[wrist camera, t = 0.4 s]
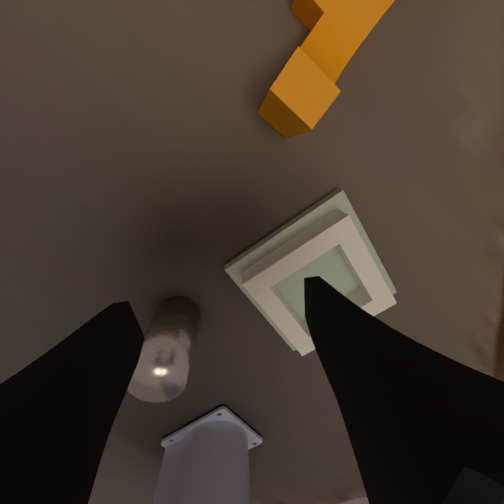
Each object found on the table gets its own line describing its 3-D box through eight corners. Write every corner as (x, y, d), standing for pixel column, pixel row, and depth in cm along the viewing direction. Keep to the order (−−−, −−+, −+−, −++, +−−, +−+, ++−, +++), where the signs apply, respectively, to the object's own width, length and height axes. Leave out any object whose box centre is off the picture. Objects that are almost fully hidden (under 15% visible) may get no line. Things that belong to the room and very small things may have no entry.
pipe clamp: (367, -111, 13) (483, -344, 7) (416, -40, 14) (550, -185, 8) (236, 94, 16) (237, 58, 10) (285, 138, 17) (311, 129, 11)
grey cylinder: (177, 338, 23) (154, 410, 16) (146, 311, 22) (109, 378, 15) (209, 317, 22) (198, 384, 16) (180, 288, 21) (156, 347, 14)
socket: (291, 343, 24) (298, 368, 21) (225, 264, 20) (223, 282, 18) (390, 286, 22) (412, 305, 20) (337, 188, 19) (355, 194, 16)
